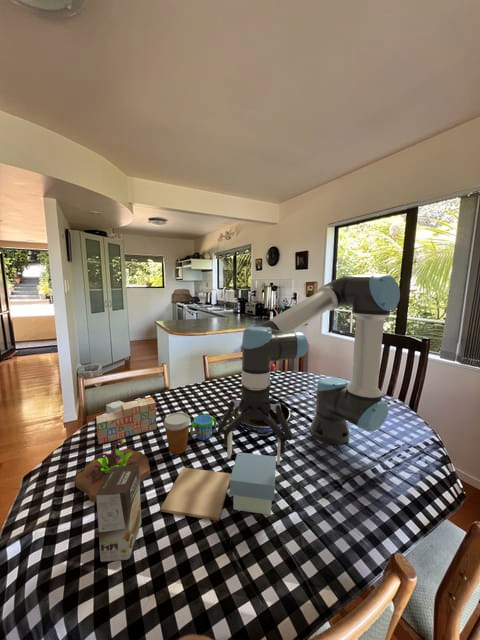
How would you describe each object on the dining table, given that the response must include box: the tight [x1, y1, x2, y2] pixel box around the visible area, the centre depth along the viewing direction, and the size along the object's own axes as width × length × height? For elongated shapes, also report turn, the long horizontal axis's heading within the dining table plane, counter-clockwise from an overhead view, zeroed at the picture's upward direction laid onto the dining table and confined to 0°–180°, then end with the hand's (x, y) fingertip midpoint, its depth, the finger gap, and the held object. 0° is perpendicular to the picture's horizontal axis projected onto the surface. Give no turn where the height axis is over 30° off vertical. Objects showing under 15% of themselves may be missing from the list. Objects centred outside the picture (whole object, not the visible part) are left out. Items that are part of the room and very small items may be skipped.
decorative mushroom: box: [270, 362, 277, 373], centre depth 157 cm, size 11×11×15 cm
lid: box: [229, 451, 277, 502], centre depth 73 cm, size 12×12×4 cm
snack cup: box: [189, 414, 217, 441], centre depth 103 cm, size 11×8×7 cm
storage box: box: [232, 495, 272, 516], centre depth 74 cm, size 10×10×8 cm
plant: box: [75, 439, 151, 504], centre depth 82 cm, size 20×20×11 cm
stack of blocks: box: [95, 397, 157, 445], centre depth 104 cm, size 21×6×12 cm, turn 122°
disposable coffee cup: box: [163, 412, 191, 455], centre depth 95 cm, size 10×10×12 cm
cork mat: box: [159, 467, 232, 521], centre depth 76 cm, size 16×16×1 cm
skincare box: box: [105, 400, 125, 414], centre depth 116 cm, size 6×6×7 cm
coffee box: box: [96, 465, 142, 562], centre depth 60 cm, size 9×6×16 cm
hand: (253, 458), depth 72 cm, fingers open, 13 cm apart
